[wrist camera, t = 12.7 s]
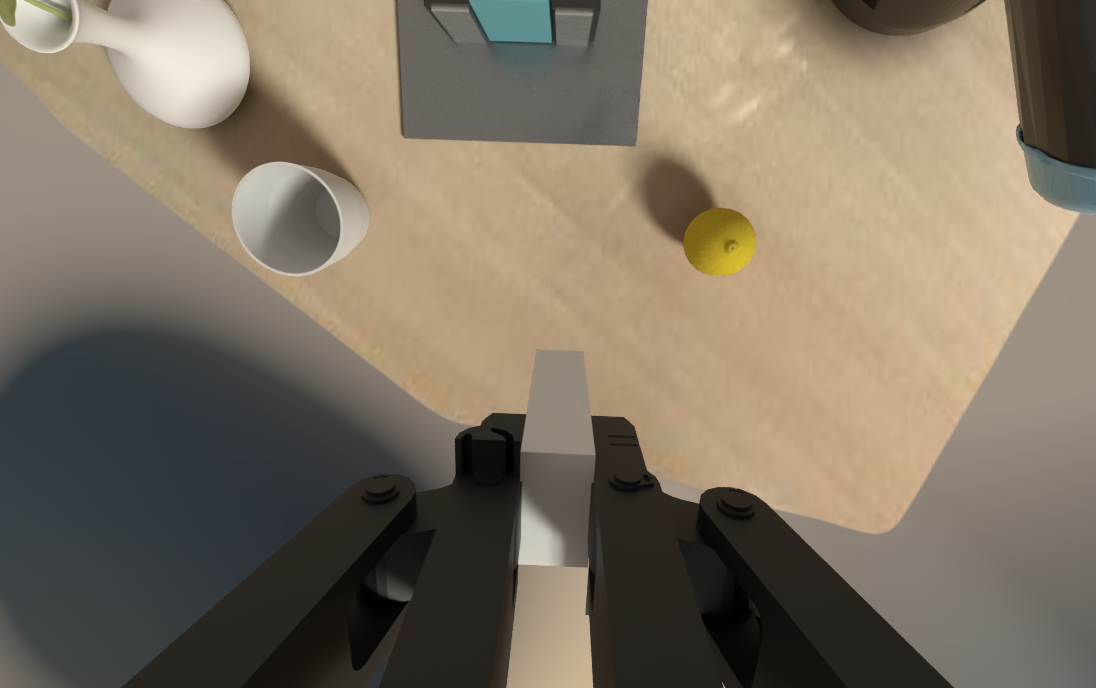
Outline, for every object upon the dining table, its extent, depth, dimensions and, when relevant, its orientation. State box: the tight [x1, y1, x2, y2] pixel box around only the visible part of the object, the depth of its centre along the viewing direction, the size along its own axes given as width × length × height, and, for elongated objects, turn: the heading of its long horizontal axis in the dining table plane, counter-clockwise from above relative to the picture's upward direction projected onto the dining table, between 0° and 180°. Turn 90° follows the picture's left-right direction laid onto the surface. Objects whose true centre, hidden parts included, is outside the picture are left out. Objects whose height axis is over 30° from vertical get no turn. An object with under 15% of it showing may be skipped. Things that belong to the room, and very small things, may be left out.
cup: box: [232, 162, 370, 276], centre depth 42 cm, size 8×8×10 cm
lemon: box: [683, 208, 756, 276], centre depth 43 cm, size 6×6×8 cm
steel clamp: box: [397, 0, 648, 146], centre depth 39 cm, size 20×14×9 cm
